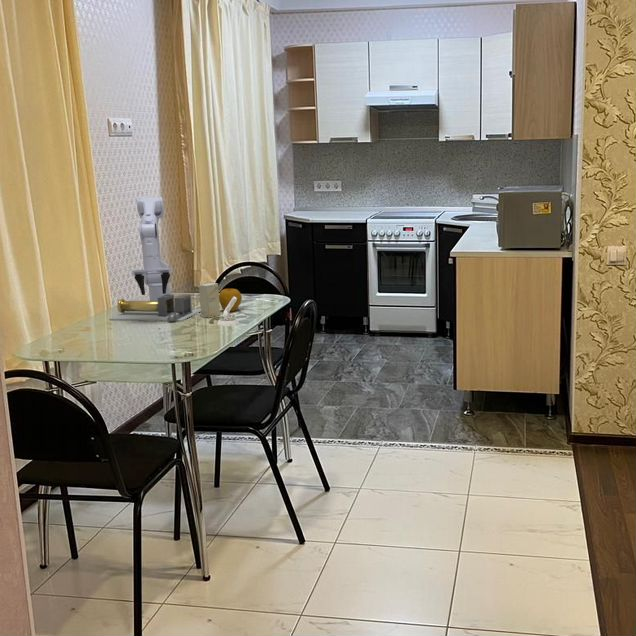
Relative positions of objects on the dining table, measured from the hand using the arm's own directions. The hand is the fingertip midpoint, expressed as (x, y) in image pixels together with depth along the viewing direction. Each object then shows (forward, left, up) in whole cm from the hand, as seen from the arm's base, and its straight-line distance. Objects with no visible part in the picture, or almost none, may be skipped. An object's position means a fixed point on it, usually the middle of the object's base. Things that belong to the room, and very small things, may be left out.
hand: (153, 294), depth 300 cm
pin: (-11, -11, -9) cm, 18 cm away
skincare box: (-12, +17, -11) cm, 23 cm away
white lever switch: (0, +29, -11) cm, 30 cm away
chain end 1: (-14, -1, -10) cm, 17 cm away
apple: (-22, +21, -11) cm, 32 cm away
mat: (-11, -5, -10) cm, 16 cm away
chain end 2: (-7, +6, -10) cm, 13 cm away
